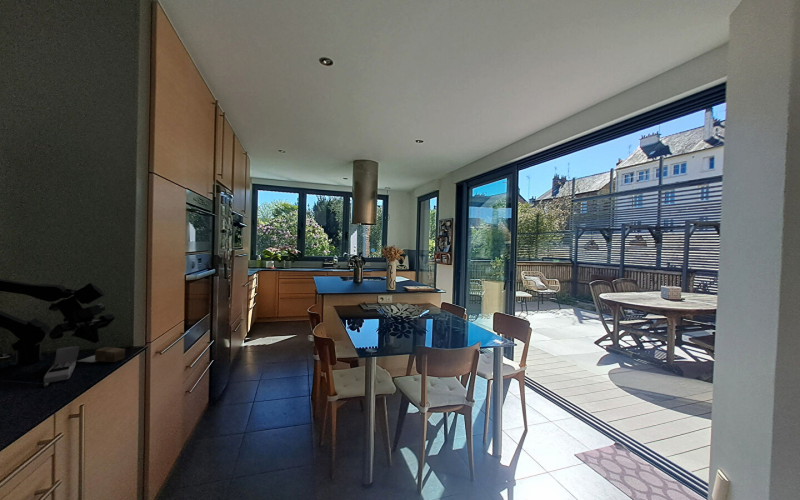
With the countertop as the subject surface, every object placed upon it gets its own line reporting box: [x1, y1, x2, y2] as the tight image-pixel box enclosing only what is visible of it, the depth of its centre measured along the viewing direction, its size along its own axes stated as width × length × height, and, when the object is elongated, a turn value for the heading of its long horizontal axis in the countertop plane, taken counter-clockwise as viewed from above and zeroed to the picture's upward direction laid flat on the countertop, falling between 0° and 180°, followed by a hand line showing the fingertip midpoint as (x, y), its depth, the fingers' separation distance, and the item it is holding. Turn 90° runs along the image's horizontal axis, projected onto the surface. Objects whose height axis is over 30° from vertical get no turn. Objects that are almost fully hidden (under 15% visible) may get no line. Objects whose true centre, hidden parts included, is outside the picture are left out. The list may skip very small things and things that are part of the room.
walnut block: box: [94, 346, 126, 363], centre depth 117 cm, size 4×4×8 cm
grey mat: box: [77, 354, 98, 363], centre depth 117 cm, size 8×6×1 cm
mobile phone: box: [43, 345, 81, 388], centre depth 106 cm, size 6×6×25 cm
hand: (97, 342), depth 117 cm, fingers closed
